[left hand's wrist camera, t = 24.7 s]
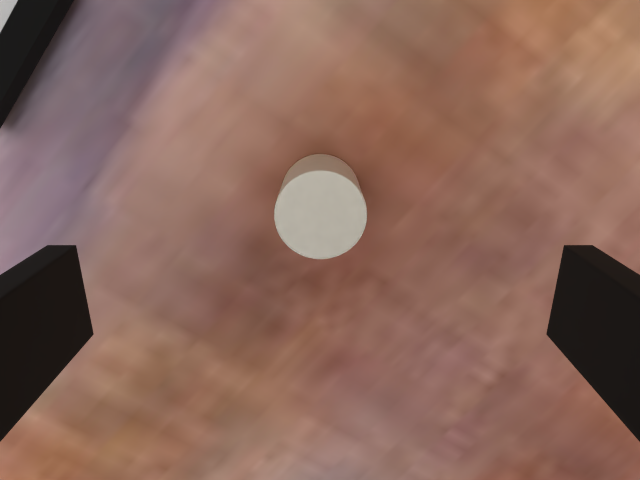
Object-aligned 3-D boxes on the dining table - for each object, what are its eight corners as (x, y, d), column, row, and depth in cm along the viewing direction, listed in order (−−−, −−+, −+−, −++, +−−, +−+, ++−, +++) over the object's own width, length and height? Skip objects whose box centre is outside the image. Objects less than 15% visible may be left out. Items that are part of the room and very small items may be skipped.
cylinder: (369, 215, 23) (378, 243, 20) (297, 239, 24) (293, 270, 20) (345, 142, 22) (350, 157, 18) (270, 169, 23) (259, 188, 19)
